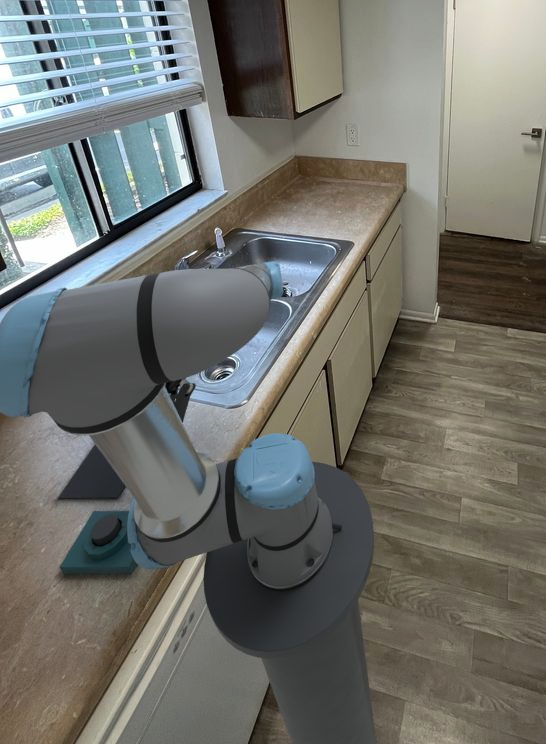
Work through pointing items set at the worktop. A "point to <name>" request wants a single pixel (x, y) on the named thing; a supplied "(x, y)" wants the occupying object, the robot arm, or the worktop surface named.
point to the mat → (94, 479)
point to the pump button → (105, 530)
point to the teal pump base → (100, 550)
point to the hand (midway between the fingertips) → (131, 468)
